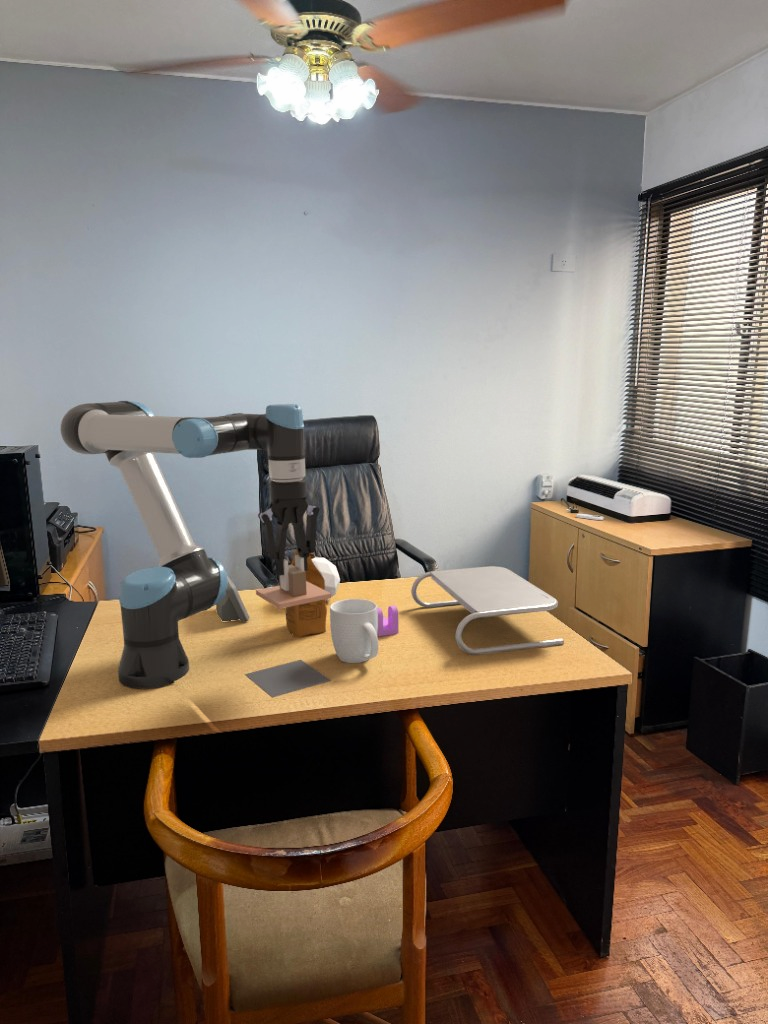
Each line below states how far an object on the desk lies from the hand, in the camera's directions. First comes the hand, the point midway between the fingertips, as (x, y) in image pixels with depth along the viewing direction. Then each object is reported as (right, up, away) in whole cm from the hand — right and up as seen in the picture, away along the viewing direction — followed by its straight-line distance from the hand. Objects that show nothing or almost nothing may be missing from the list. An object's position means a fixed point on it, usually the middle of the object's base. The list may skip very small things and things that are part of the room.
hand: (292, 587), depth 154 cm
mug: (+13, -19, +13) cm, 26 cm away
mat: (-2, -21, +3) cm, 21 cm away
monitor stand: (+45, -14, +36) cm, 59 cm away
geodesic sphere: (0, -10, +57) cm, 58 cm away
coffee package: (-1, -15, +34) cm, 37 cm away
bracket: (+18, -14, +35) cm, 42 cm away
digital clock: (-22, -13, +45) cm, 52 cm away
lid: (0, -2, 0) cm, 2 cm away
